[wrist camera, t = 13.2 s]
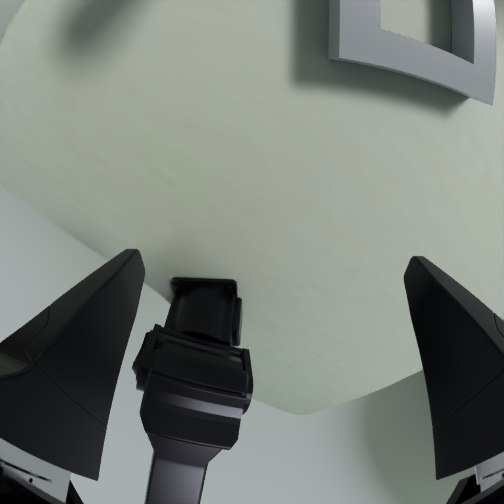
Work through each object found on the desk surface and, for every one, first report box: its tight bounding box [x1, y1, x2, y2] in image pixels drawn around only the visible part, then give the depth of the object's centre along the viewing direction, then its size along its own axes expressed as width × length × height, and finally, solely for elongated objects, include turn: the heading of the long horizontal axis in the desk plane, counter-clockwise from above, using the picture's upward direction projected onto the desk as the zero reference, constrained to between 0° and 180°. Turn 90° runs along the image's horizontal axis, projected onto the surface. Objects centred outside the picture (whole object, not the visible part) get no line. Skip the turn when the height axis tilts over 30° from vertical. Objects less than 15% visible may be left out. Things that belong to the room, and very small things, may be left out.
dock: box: [328, 0, 497, 105], centre depth 9 cm, size 13×13×3 cm
